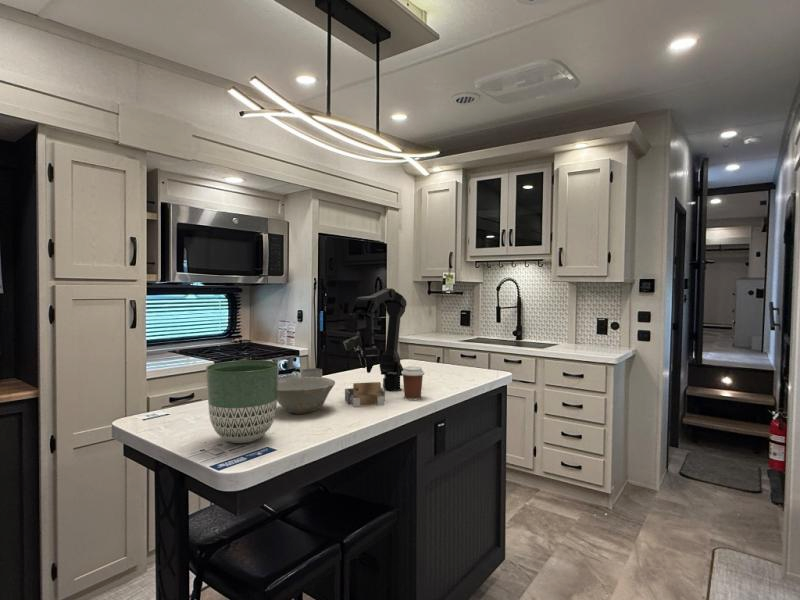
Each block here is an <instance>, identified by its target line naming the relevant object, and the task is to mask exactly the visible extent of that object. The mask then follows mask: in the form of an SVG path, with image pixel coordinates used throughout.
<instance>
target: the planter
mask: <svg viewBox="0 0 800 600" xmlns="http://www.w3.org/2000/svg"><path fill="white" fill-rule="evenodd" d="M279 368H280V365H279V363H278V362H275V361H271V360H263V359H262V360H260V359H257V360H256V359H244V360H231V361H223V362H217V363H212V364H209V365H207V366H206V367H205V374H206V377H205V378H206V389H207V403H208V404H207V405H208V414H209V419H210V423H211V426H212V428H213V429H214V431H215V433H216V434H217V435H218V436H219V437H220V438H222V439H223V440H224V441H227V442H229V443H231V444H232V443H234V444H246V443H247V444H248V443H252V442H255V441H256V440H259V439H260V438H262V437H263V436H264V435H265V434H266V433H268V432H269V430H270V428H271V427H272V425H273V423H274V422H275V417H276V414H277V413H276V412H277V408H278V407H277V406H278V405H277V403H278V402H277V391H278V380H279V373H280V372H279Z"/></svg>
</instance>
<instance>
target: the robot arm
mask: <svg viewBox="0 0 800 600" xmlns="http://www.w3.org/2000/svg"><path fill="white" fill-rule="evenodd" d="M380 304H384V305H385V310H386V313H387V315H388V326H387V333H386V334H387V335H386V346H385V351H384V352H383V353H381V354H380V349H379V348H378V347H377V346H376V345H375V343H374V337H375V332H374V318H376V314H375V313H374V312H375V311H376V310H377V309H378V306H379V305H380ZM407 304H408V303H407V300H406V299H405V297H404V296H403V294H400V293H399V292H397V291H396V290H395V289H394V288H382V289H381V290H379V291H377V292H375V293H373V294H371V295H367V296H358V297H357V298H356V299H355V301H354V303H353V306H352V309H351V311H350V313H349V314H348V316H349V317H348V318H346V319H345V322H344V328H345V331H347V332H348V333H350V334H352V333H356V336H353V337H351V338H349V339H348V338H347V339H346V340H344V341H342V342H343V345H344V346H343V347H344V348H345V350H346V351H351V350H352V349H354V351H355V352H356V353H357V354H358V357H359V361H360V365H361V368H362V369H365V368H366V373H367V374H371V372H372V369H373V367H374V364H375V362H376V360H377V359H378V356H379V355H380V361H379V370H380V375H382V376H384V377H383V378H382V387H383V388H382V389H383V390H384V391H385V392H386V391H388V392H391V391H402V388H401V377H403V375H402V374H401V372H402V371H403V370H404V367H403V366H402V364H401V363H402V362H401V357H400V354H399V353H398V349H399V348H398V346H399V338H400V337H399V336H400V327H401V318H402V317H403V315H404V314H405V312H406V307H407Z"/></svg>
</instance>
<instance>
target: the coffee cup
mask: <svg viewBox="0 0 800 600" xmlns="http://www.w3.org/2000/svg"><path fill="white" fill-rule="evenodd" d="M403 369H404V370H403V371H402V372H401V374H402V375H403V376H402V380H403V393H404V399H405V398H406V399H405V400H407V399H412V400H411V401H414V400H413V399H419V400H421V399H422V389H423V388H422V387H423V377H424V375H425V371H424V370H423V368H422V367H421V366H416V365H415V366H414V365H413V366H411V365H410V366H404V367H403ZM420 398H421V399H420Z"/></svg>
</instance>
